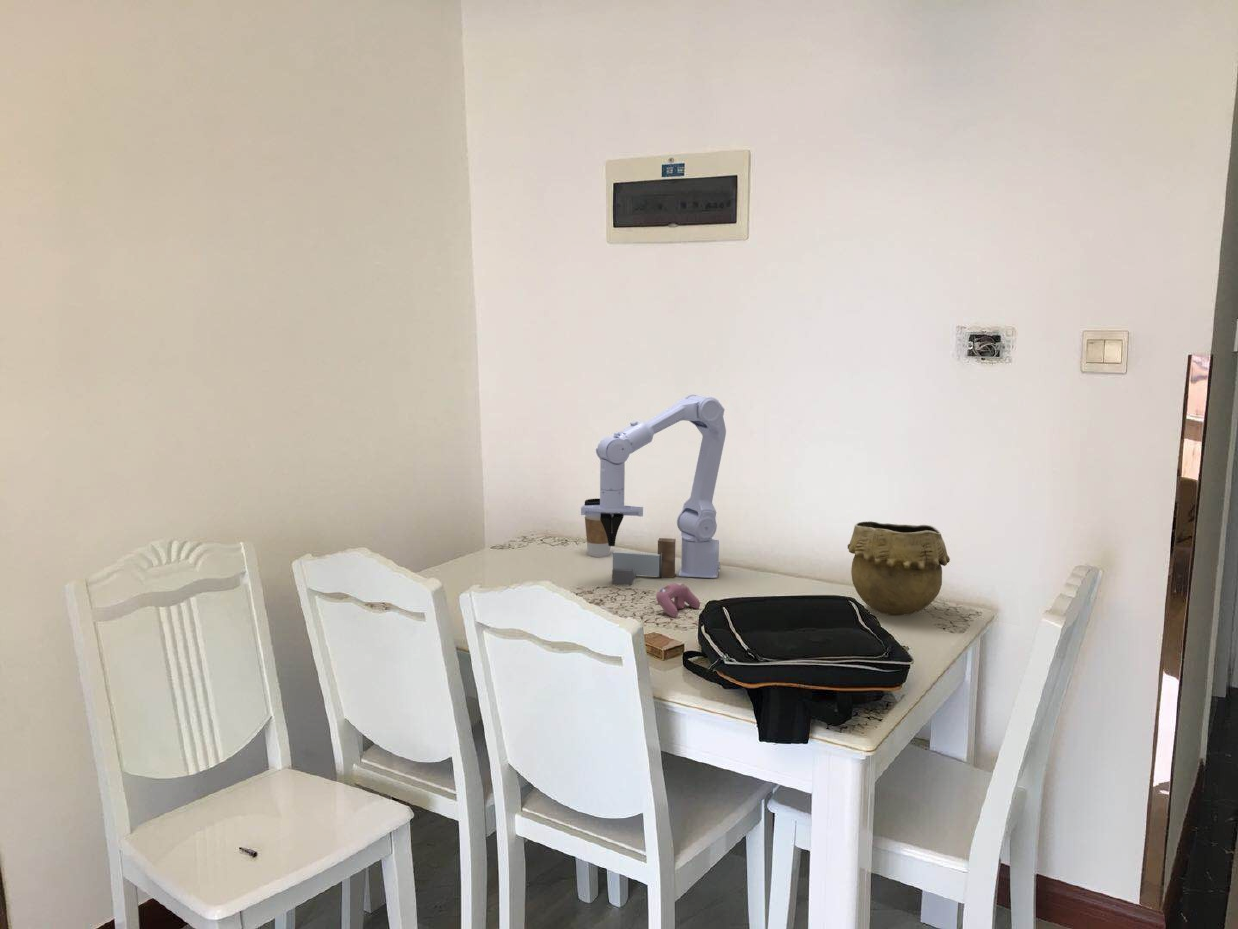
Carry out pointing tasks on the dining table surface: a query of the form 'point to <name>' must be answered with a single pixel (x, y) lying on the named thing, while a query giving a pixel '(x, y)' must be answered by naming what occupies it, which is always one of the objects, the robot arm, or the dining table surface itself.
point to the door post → (667, 557)
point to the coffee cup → (596, 533)
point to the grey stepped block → (623, 576)
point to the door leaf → (638, 562)
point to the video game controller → (676, 598)
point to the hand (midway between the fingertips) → (611, 545)
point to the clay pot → (897, 566)
